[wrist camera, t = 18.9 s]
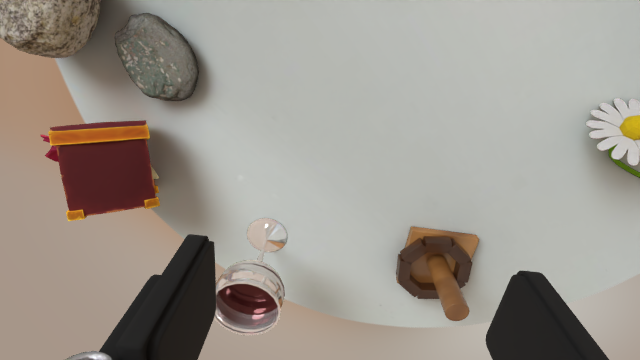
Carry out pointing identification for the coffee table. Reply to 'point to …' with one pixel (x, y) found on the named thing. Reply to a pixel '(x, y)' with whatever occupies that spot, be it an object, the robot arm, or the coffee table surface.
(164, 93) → the stone
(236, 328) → the wineglass
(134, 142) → the book monster
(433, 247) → the ring
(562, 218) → the coffee table surface
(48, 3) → the stone
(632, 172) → the decorative flower
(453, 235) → the wooden peg stand
